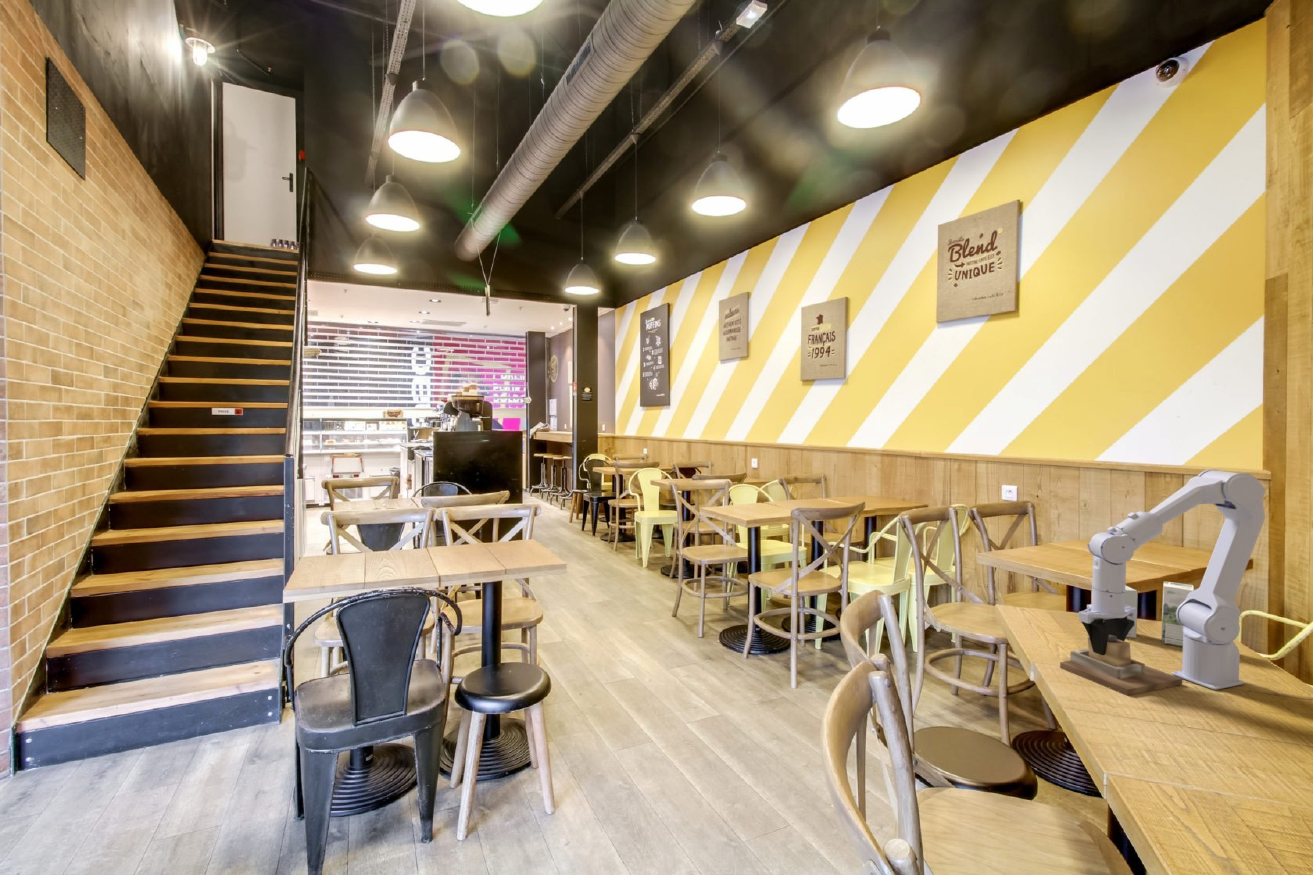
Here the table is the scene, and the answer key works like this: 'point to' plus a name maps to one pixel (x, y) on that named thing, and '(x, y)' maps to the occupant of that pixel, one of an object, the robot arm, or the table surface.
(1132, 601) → the skincare box
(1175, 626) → the syrup box
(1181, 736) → the table surface
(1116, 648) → the knob block
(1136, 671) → the board
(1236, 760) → the table surface
